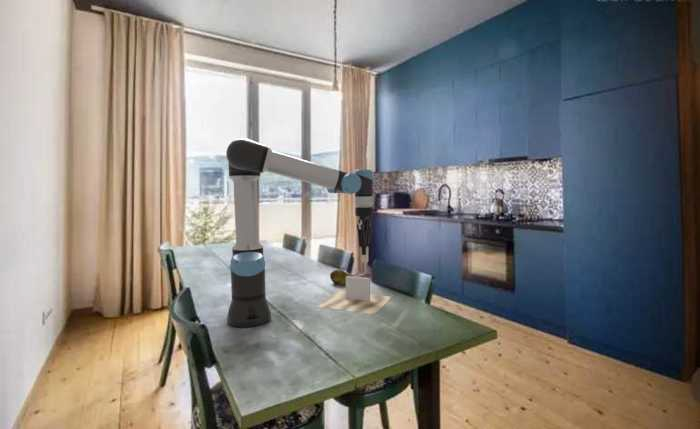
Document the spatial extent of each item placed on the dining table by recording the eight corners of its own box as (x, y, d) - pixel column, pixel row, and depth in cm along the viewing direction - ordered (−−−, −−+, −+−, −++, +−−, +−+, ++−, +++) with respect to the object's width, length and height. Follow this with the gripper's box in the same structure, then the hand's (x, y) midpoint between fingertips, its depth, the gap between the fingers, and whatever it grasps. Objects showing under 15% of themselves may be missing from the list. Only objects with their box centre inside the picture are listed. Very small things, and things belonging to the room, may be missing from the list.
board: (315, 310, 138) (315, 306, 137) (338, 294, 158) (338, 290, 158) (375, 318, 129) (375, 314, 129) (391, 300, 149) (391, 296, 149)
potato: (352, 291, 162) (352, 273, 162) (327, 287, 168) (327, 270, 167) (360, 286, 170) (360, 269, 169) (336, 283, 175) (336, 267, 175)
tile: (345, 298, 147) (345, 276, 146) (347, 297, 149) (347, 275, 148) (368, 301, 143) (368, 279, 143) (370, 299, 145) (370, 278, 144)
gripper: (367, 207, 143) (368, 265, 145) (377, 205, 155) (377, 259, 157) (350, 207, 146) (351, 264, 148) (361, 205, 158) (361, 258, 160)
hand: (364, 261), depth 152 cm, fingers closed
